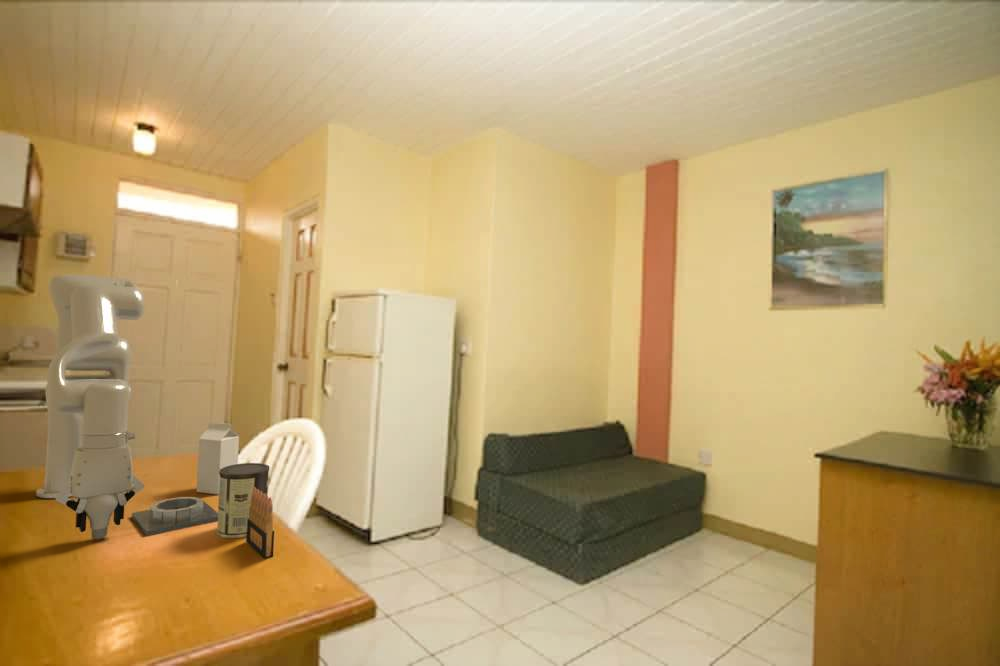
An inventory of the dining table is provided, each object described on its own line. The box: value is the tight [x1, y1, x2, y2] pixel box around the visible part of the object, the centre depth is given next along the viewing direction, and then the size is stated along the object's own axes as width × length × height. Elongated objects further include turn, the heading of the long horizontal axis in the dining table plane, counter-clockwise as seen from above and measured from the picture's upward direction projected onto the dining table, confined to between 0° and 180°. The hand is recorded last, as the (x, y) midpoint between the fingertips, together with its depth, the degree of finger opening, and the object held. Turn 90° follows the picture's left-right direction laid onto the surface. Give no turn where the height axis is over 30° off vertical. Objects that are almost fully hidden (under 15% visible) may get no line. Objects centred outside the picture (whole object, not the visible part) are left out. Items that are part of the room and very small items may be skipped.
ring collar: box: [131, 496, 218, 537], centre depth 118 cm, size 15×15×4 cm
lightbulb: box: [84, 494, 119, 541], centre depth 105 cm, size 6×6×11 cm
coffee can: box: [216, 462, 271, 539], centre depth 113 cm, size 10×10×14 cm
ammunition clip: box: [245, 487, 275, 559], centre depth 104 cm, size 11×2×12 cm, turn 45°
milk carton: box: [196, 422, 240, 495], centre depth 140 cm, size 7×7×19 cm
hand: (99, 525), depth 105 cm, fingers closed on lightbulb, 5 cm apart
